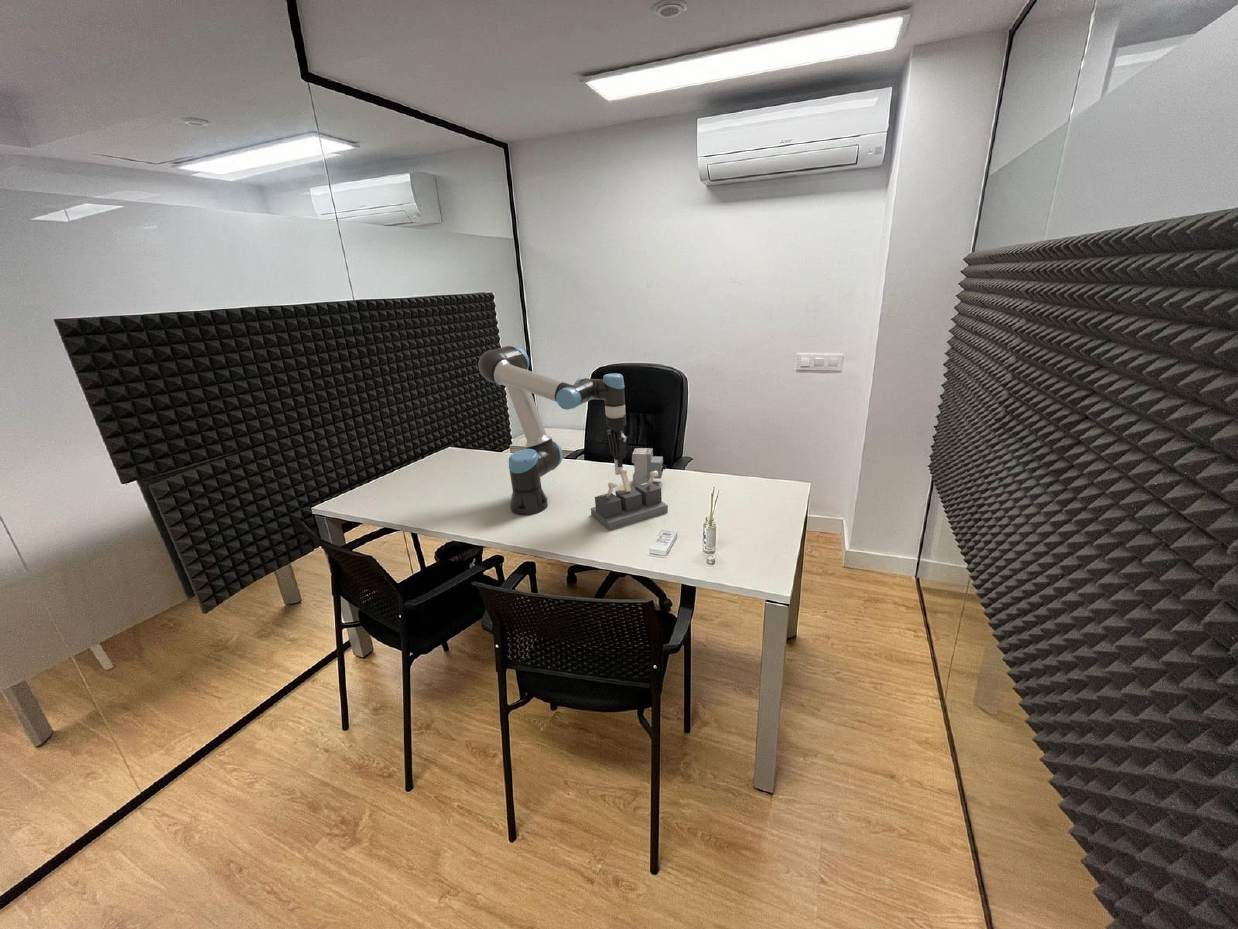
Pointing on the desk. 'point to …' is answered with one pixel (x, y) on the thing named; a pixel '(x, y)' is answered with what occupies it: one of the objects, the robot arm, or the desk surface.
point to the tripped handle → (625, 479)
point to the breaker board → (630, 515)
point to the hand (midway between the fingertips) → (619, 473)
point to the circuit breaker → (646, 465)
